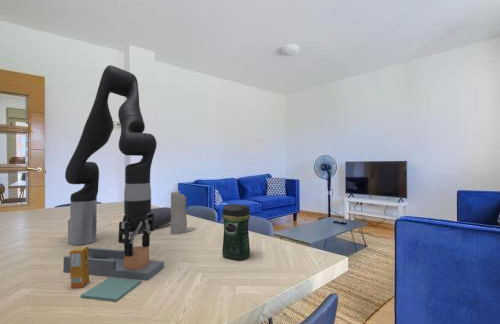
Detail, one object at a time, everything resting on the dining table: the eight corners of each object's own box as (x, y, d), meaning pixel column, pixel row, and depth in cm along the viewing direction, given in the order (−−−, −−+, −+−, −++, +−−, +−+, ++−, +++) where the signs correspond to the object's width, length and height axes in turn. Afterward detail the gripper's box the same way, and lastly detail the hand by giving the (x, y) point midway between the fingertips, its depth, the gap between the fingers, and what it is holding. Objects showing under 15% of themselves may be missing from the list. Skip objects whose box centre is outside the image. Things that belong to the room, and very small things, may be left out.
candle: (199, 228, 130) (199, 189, 130) (177, 235, 118) (178, 191, 118) (188, 226, 134) (189, 188, 134) (167, 232, 122) (167, 190, 122)
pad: (80, 297, 63) (80, 295, 63) (109, 279, 73) (109, 277, 73) (116, 301, 62) (116, 299, 62) (141, 282, 72) (141, 280, 72)
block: (124, 268, 76) (124, 251, 76) (134, 261, 81) (134, 246, 81) (139, 269, 75) (139, 252, 75) (149, 263, 80) (149, 247, 80)
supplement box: (76, 282, 71) (76, 246, 71) (89, 282, 71) (89, 246, 71) (68, 288, 68) (69, 250, 68) (82, 288, 68) (83, 250, 68)
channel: (63, 272, 78) (63, 257, 78) (87, 260, 87) (87, 247, 87) (147, 280, 73) (147, 264, 73) (164, 267, 82) (164, 253, 82)
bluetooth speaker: (162, 223, 140) (163, 205, 140) (173, 226, 135) (174, 207, 135) (121, 232, 122) (121, 211, 122) (132, 236, 116) (132, 214, 116)
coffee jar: (253, 255, 93) (253, 203, 93) (242, 262, 86) (242, 207, 87) (230, 250, 98) (231, 201, 98) (218, 257, 91) (219, 204, 91)
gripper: (134, 201, 71) (134, 260, 71) (161, 195, 85) (161, 244, 85) (110, 201, 72) (110, 259, 72) (140, 194, 86) (140, 243, 86)
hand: (137, 251), depth 78 cm, fingers open, 8 cm apart
